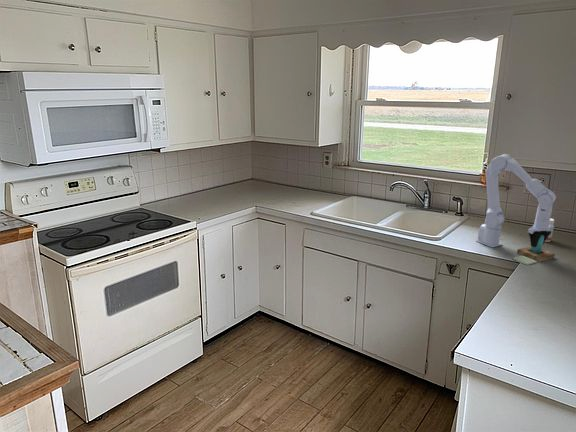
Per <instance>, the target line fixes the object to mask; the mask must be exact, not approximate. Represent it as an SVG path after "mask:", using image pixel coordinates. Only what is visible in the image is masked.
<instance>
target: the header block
mask: <svg viewBox="0 0 576 432" xmlns="http://www.w3.org/2000/svg"><path fill="white" fill-rule="evenodd" d="M530 249H531V245H529V246H525V247H521V248H517V252H516V253H517V254H519V255H520V254H521V255H520V256H525V257H528V258H530V259H533V260H535V261H537V263H538V262H543V261H547V260H550V259H551V260H552V259H554V258H555V255H556V253H554V252H551V251H548V250H546V249H544V248H542V250H541V253H533V252H531V251H530Z"/></svg>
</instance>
